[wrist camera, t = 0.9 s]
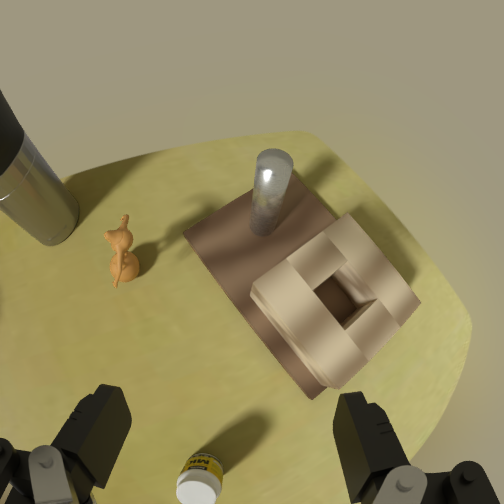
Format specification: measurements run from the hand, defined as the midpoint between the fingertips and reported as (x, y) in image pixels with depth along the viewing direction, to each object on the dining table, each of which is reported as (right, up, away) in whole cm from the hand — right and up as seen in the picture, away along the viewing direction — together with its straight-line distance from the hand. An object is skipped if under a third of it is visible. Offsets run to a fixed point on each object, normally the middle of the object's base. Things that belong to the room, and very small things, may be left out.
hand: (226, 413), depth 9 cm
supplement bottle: (-5, -21, +18) cm, 28 cm away
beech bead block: (+10, -1, +25) cm, 27 cm away
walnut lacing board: (+7, +3, +28) cm, 29 cm away
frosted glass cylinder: (+2, +9, +29) cm, 30 cm away
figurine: (-14, +3, +27) cm, 31 cm away
